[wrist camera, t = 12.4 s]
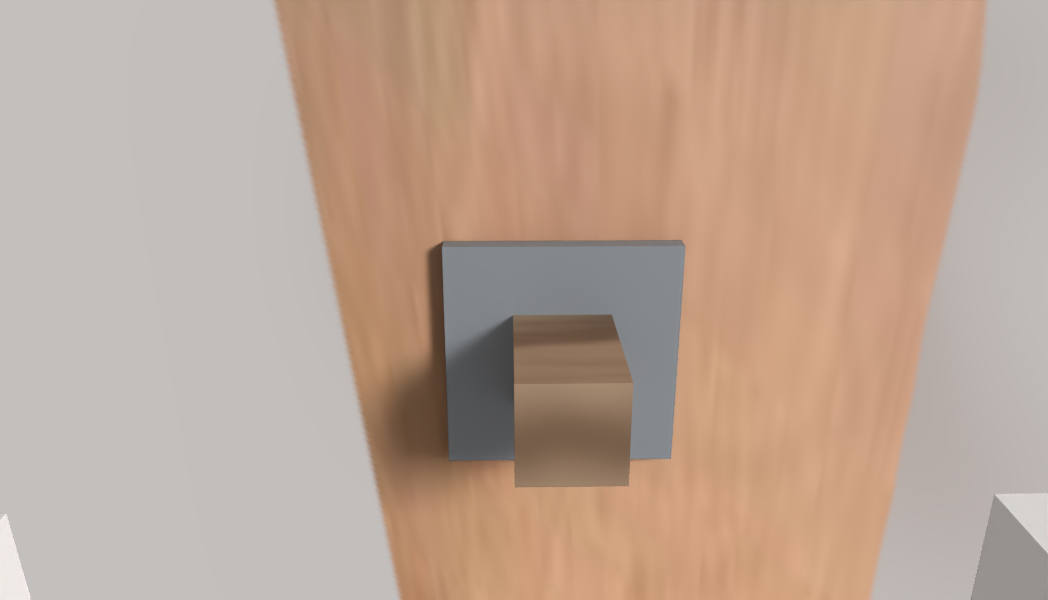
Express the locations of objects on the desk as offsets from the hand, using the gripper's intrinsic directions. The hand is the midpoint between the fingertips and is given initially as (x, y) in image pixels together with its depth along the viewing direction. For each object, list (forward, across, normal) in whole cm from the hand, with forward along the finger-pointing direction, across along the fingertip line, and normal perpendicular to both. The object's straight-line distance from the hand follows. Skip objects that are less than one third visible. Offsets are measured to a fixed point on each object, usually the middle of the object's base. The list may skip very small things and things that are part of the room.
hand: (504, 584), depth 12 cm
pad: (+31, +2, -11) cm, 33 cm away
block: (+30, +2, -11) cm, 33 cm away
